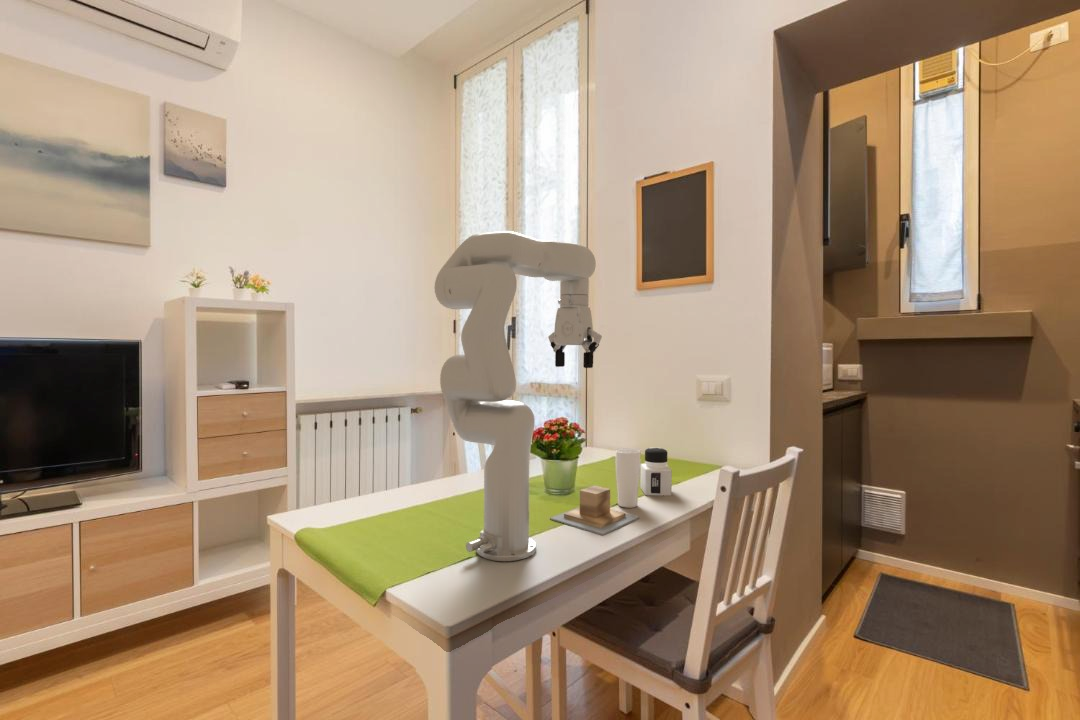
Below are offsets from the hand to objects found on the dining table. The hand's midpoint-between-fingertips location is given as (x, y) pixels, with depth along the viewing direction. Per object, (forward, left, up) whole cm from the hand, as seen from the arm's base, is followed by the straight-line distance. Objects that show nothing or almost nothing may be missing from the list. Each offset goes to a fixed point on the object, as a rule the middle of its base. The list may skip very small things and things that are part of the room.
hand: (573, 367), depth 138 cm
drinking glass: (+12, -10, -38) cm, 41 cm away
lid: (-3, -10, -37) cm, 39 cm away
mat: (-3, -10, -38) cm, 39 cm away
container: (+29, -9, -38) cm, 48 cm away
